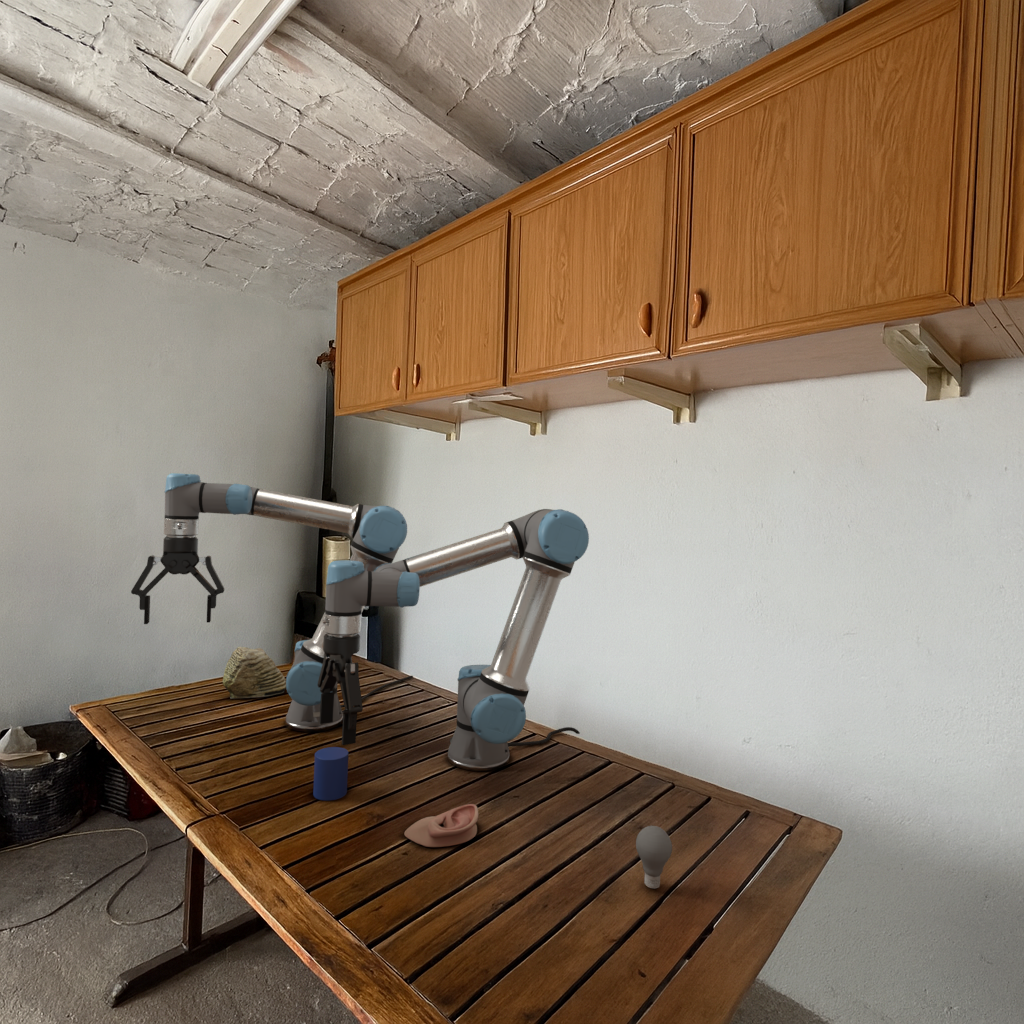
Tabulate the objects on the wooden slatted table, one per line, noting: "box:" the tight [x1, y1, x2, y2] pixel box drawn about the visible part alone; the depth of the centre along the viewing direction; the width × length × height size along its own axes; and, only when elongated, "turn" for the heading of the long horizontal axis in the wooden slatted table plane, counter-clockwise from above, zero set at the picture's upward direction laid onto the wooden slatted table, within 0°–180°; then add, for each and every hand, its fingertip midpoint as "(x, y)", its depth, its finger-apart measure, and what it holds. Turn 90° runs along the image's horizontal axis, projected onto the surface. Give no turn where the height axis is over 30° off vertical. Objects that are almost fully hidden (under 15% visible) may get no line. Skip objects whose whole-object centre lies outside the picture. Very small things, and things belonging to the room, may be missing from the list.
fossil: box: [222, 646, 287, 699], centre depth 198 cm, size 9×18×15 cm, turn 132°
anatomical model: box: [404, 803, 479, 848], centre depth 121 cm, size 13×4×12 cm
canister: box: [312, 746, 349, 802], centre depth 136 cm, size 7×7×9 cm
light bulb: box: [635, 825, 673, 889], centre depth 107 cm, size 6×6×10 cm
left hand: (178, 622), depth 156 cm, fingers open, 13 cm apart
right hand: (336, 732), depth 135 cm, fingers open, 13 cm apart
